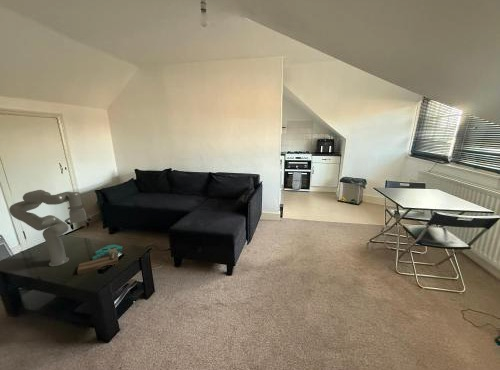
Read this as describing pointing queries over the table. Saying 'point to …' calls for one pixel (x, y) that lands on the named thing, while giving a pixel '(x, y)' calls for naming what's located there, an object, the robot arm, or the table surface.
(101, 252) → the alien figure
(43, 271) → the table surface
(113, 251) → the mallet
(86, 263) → the board
